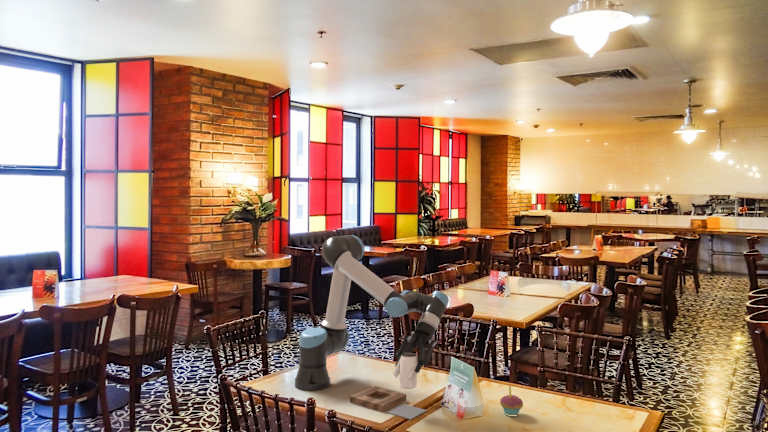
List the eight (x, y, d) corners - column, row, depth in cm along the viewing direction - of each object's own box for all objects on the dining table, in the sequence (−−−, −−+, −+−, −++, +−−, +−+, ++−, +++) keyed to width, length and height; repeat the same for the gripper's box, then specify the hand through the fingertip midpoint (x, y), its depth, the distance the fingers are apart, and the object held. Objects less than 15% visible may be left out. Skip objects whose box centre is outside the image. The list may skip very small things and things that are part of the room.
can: (415, 389, 213) (415, 357, 212) (398, 388, 214) (398, 356, 214) (417, 384, 219) (418, 352, 219) (401, 382, 220) (401, 351, 220)
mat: (386, 412, 216) (386, 411, 216) (403, 404, 225) (403, 403, 225) (410, 419, 209) (410, 418, 209) (426, 411, 218) (426, 410, 218)
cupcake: (518, 420, 211) (518, 388, 210) (496, 415, 215) (496, 384, 215) (525, 413, 218) (526, 382, 217) (504, 408, 222) (505, 378, 222)
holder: (349, 402, 226) (350, 396, 226) (374, 391, 239) (374, 385, 239) (382, 412, 216) (382, 405, 216) (406, 400, 229) (406, 394, 229)
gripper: (451, 335, 223) (428, 388, 210) (410, 328, 234) (386, 377, 222) (444, 324, 218) (420, 377, 206) (403, 317, 230) (377, 367, 217)
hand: (402, 377), depth 214 cm, fingers closed on can, 6 cm apart
